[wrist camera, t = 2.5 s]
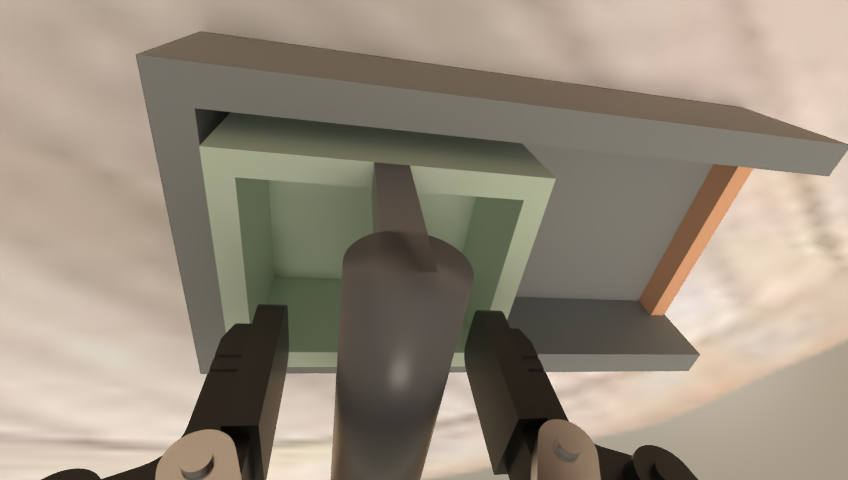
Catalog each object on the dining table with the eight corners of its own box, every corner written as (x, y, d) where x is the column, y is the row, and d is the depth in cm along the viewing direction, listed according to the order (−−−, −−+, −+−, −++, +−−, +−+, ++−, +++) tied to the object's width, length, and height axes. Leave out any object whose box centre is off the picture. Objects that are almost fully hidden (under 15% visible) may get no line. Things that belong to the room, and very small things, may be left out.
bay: (200, 31, 14) (135, 54, 10) (742, 107, 19) (851, 145, 15) (232, 293, 21) (200, 373, 17) (633, 305, 25) (688, 370, 21)
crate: (244, 97, 15) (54, 300, 6) (506, 127, 17) (687, 315, 7) (258, 281, 19) (166, 564, 10) (464, 288, 21) (546, 531, 12)
